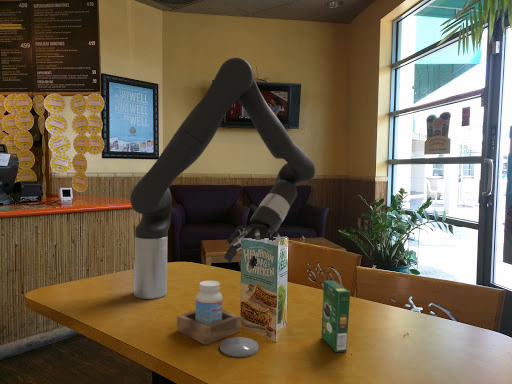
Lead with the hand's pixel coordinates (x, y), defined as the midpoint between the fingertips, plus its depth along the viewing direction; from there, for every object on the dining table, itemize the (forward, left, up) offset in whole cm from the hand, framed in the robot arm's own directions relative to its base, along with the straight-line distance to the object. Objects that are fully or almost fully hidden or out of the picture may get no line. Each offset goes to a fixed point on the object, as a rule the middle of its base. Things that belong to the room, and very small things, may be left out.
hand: (238, 263), depth 95 cm
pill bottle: (0, -9, -15) cm, 17 cm away
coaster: (+11, -10, -14) cm, 21 cm away
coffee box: (+24, +6, -15) cm, 29 cm away
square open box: (0, -9, -14) cm, 17 cm away
